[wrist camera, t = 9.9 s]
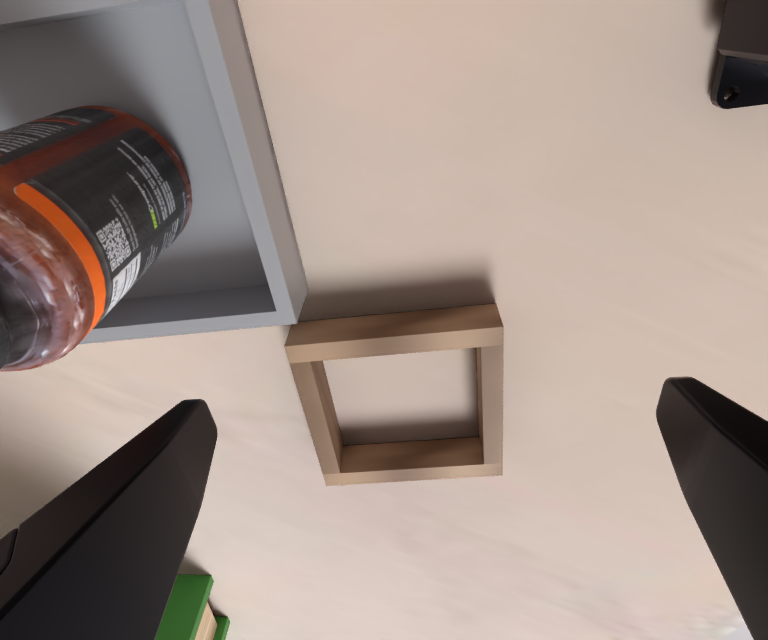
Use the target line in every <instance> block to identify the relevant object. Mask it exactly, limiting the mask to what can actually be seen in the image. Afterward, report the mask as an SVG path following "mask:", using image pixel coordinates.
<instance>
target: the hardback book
mask: <svg viewBox="0 0 768 640" xmlns="http://www.w3.org/2000/svg"><path fill="white" fill-rule="evenodd" d="M213 582H214V581H213V579H212V576H211V575H177V577H176V580H175V583H174V586H173V589H172V592H171V595H170V597H169V600H168V603H167V606H166V609H165V612H164V615H163V618H162V620H161V623H160V626H159V629H158V632H157V635H156V638H155V640H225V638H226V635H227V631H228V628H229V624H230V621H229V619H228V617H214V616H213V614H212V611H211V609H210V607H209V604H208V602H207V601H208V598H209V594H210V591H211V588H212V585H213Z"/></svg>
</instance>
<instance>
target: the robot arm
mask: <svg viewBox="0 0 768 640" xmlns="http://www.w3.org/2000/svg"><path fill="white" fill-rule="evenodd" d="M717 49H718V50H719V52H720V54H719V59H718V63H717V68H716V72H715V77H714V82H713V86H712V91H711V102H712V104H713V105H715V106H716V107H720V108H723V109H731V108H739V107H747V106H754V105H762V104H768V0H727V3H726V8H725V12H724V17H723V21H722V26H721V31H720V35H719V40H718V45H717ZM729 87H733V92H732V94H731V96H730V97H728V98H727V99H724V94H725V91H726V90H727V89H728V88H729ZM656 418H657V422H658V425H659V428H660V431H661V434H662V436H663V439H664V442H665V445H666V448H667V451H668V453H669V456H670V459H671V462H672V465H673V467H674V470H675V473H676V476H677V479H678V482H679V484H680V487H681V490H682V492H683V495H684V497H685V499H686V501H687V504H688V506H689V508H690V510H691V512H692V514H693V516H694V518H695V520H696V522H697V524H698V527H699V529H700V531H701V533H702V535H703V537H704V539H705V541H706V543H707V545H708V547H709V549H710V551H711V553H712V555H713V557H714V559H715V561H716V563H717V565H718V568H719V570H720V572H721V574H722V576H723V578H724V580H725V582H726V584H727V586H728V588H729V590H730V592H731V594H732V596H733V598H734V600H735V602H736V604H737V606H738V609H739V611H740V613H741V615H742V617H743V619H744V621H745V623H746V625H747V627H748V629H749V631H750V633H751V635H752V637H753V639H754V640H768V421H766V420H764V419H763V418H761V417H759V416H758V415H756V414H754V413H753V412H751V411H749V410H748V409H746V408H744V407H742V406H741V405H739V404H737V403H736V402H734V401H732V400H731V399H729V398H727V397H725V396H724V395H722V394H720V393H719V392H717V391H715V390H714V389H712V388H710V387H708V386H707V385H705V384H703V383H702V382H700V381H698V380H697V379H695V378H692V377H670V378H668V379H666V380H665V382H664V384H663V388H662V391H661V395H660V398H659V402H658V405H657V409H656ZM216 440H217V427H216V424H215V422H214V420H213V417H212V415H211V413H210V410H209V408H208V406H207V404H206V402H205V401H204V400H202V399H191V400H183V401H181V402H180V403H179V404H177V405H176V406H175V407H173V408H172V409H171V410H169V411H168V412H167V413H165V414H164V415H163V416H162V417H160V418H159V419H158V420H156V421H155V422H154V423H152V424H151V425H150V426H148V427H147V428H146V429H145V430H143V431H142V432H141V433H139V434H138V435H137V436H135V437H134V438H133V439H131V440H130V441H129V442H128V443H126V444H125V445H124V446H122V447H121V448H120V449H118V450H117V451H116V452H114V453H113V454H112V455H111V456H109V457H108V458H107V459H105V460H104V461H103V462H101V463H100V464H99V465H97V466H96V467H95V468H93V469H92V470H91V471H90V472H88V473H87V474H86V475H84V476H83V477H82V478H80V479H79V480H78V481H76V482H75V483H74V484H73V485H71V486H70V487H69V488H67V489H66V490H65V491H63V492H62V493H61V494H59V495H58V496H57V497H55V498H54V499H53V500H52V501H50V502H49V503H48V504H46V505H45V506H44V507H42V508H41V509H40V510H38V511H37V512H36V513H35V514H33V515H32V516H31V517H29V518H28V519H27V520H25V521H24V522H23V523H21V524H20V525H19V528H15V529H13V530H12V531H11V532H10V533H8V534H7V535H6V536H4V537H3V538H2V539H0V640H155V638H156V635H157V632H158V629H159V626H160V623H161V620H162V618H163V615H164V612H165V609H166V606H167V603H168V600H169V597H170V595H171V592H172V589H173V586H174V583H175V580H176V577H177V574H178V572H179V569H180V566H181V563H182V560H183V557H184V554H185V552H186V549H187V546H188V543H189V540H190V537H191V534H192V531H193V529H194V526H195V523H196V520H197V517H198V514H199V511H200V508H201V504H202V500H203V497H204V492H205V488H206V484H207V479H208V475H209V471H210V466H211V462H212V458H213V453H214V449H215V445H216Z"/></svg>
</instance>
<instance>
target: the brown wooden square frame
mask: <svg viewBox="0 0 768 640" xmlns="http://www.w3.org/2000/svg"><path fill="white" fill-rule="evenodd" d="M284 347H285V350H286V353H287V357H288V360H289V363H290V367H291V370H292V373H293V377H294V380H295V383H296V387H297V390H298V393H299V397H300V400H301V403H302V407H303V410H304V413H305V416H306V420H307V423H308V426H309V430H310V433H311V436H312V440H313V443H314V446H315V450H316V453H317V456H318V460H319V463H320V466H321V470H322V473H323V476H324V480H325V483H326V486H332V485H349V484H365V483H382V482H399V481H415V480H432V479H449V478H465V477H482V476H499V475H503V324H502V321H501V318H500V314H499V311H498V308H497V305H496V304H486V305H475V306H464V307H454V308H443V309H433V310H422V311H411V312H401V313H390V314H380V315H369V316H358V317H348V318H337V319H326V320H316V321H305V322H297V324H292V326H291V329H290V332H289V335H288V337H287V340H286V343H285V346H284ZM474 347H476V356H477V388H478V419H479V437H470V438H455V439H441V440H426V441H411V442H396V443H382V444H367V445H352V446H344V444H343V440H342V436H341V433H340V429H339V425H338V421H337V417H336V413H335V409H334V405H333V401H332V397H331V393H330V389H329V385H328V381H327V377H326V373H325V369H324V365H323V360H334V359H346V358H358V357H369V356H381V355H393V354H404V353H416V352H428V351H439V350H451V349H462V348H474Z"/></svg>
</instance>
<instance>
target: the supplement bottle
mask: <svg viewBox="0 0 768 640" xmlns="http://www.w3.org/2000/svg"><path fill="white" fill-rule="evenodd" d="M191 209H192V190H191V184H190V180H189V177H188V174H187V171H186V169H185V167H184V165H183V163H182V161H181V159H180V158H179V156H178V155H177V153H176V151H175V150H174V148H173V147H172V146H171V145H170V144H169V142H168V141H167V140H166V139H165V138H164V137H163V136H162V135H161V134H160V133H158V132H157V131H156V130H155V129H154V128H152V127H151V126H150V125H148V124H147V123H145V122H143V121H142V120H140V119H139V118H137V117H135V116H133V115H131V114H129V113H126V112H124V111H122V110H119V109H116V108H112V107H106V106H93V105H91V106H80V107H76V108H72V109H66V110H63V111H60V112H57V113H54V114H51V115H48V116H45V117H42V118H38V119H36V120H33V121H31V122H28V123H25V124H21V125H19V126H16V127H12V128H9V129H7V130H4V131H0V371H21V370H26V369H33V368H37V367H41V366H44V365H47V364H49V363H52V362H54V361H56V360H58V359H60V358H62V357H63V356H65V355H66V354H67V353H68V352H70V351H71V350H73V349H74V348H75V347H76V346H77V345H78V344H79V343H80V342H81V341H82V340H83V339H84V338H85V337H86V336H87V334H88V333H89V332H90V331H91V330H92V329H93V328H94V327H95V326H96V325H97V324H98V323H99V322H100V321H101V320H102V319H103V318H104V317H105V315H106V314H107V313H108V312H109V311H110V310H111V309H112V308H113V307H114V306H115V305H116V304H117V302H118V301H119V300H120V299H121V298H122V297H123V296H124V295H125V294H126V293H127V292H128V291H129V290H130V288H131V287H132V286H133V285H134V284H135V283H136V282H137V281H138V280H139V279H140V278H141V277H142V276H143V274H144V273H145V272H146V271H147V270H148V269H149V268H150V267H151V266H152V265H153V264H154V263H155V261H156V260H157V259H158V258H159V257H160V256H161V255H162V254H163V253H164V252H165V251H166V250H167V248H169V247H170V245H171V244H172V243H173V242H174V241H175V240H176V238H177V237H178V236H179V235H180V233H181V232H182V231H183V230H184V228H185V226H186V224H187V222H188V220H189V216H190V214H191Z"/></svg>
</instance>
